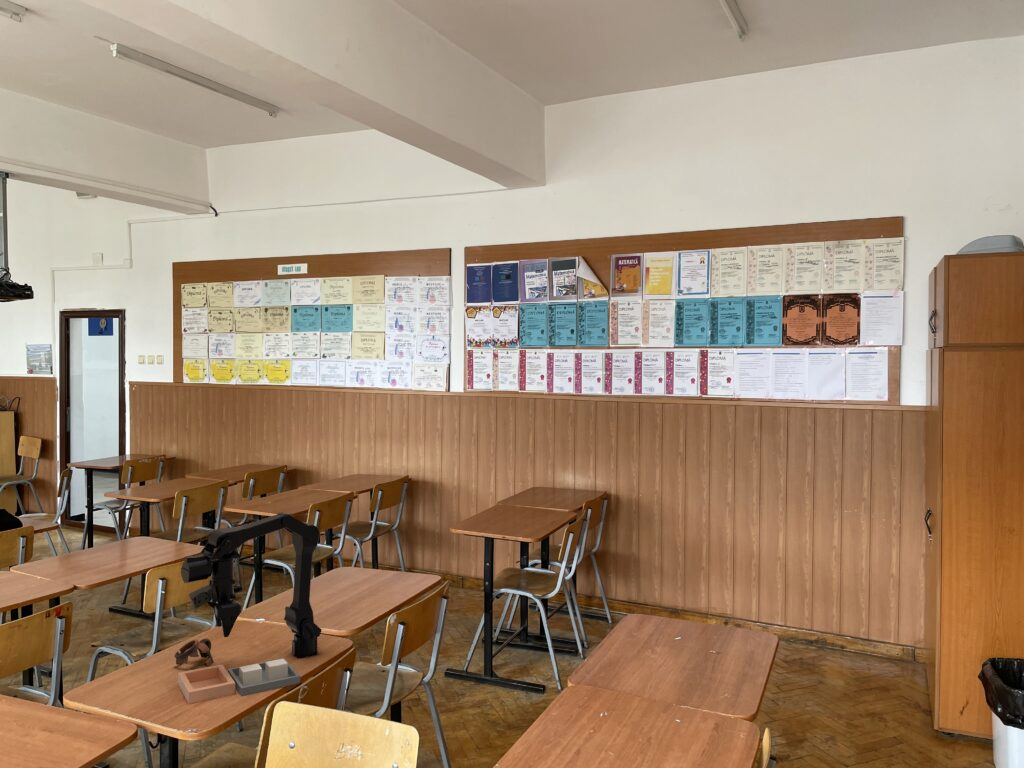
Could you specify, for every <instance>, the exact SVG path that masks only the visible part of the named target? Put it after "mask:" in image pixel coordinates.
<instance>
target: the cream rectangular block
mask: <svg viewBox="0 0 1024 768" xmlns="http://www.w3.org/2000/svg"><path fill="white" fill-rule="evenodd" d="M252 664H253V665H251V664H247V665H248V666H246V665H242V666H243V667H241V666H238V667H239V681H240V682H241V684H242V685H243V687H244V686H249V685H254V684H258V683H262V668H261V667H260V665H259V664H256V663H252Z"/></svg>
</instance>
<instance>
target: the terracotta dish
mask: <svg viewBox="0 0 1024 768" xmlns="http://www.w3.org/2000/svg"><path fill="white" fill-rule="evenodd" d="M177 685H178V687H179V689H180V691H181V692H182V695H183V696H184V698H185V700H186V702H187V704H188V705H189V704H195V703H200V702H205V701H209V700H214V699H218V698H219V699H220V698H222V697H227V696H232V695H235V694H236V688H235V682H234V680H233V679H232V678H231V676H230V675H229V673H228V669H227V668H226V667H225V666H224V665H223V664H216V665H210V666H208V667H201V668H196V669H192V670H191V669H190V670H185V671H180V672H178V673H177Z"/></svg>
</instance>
